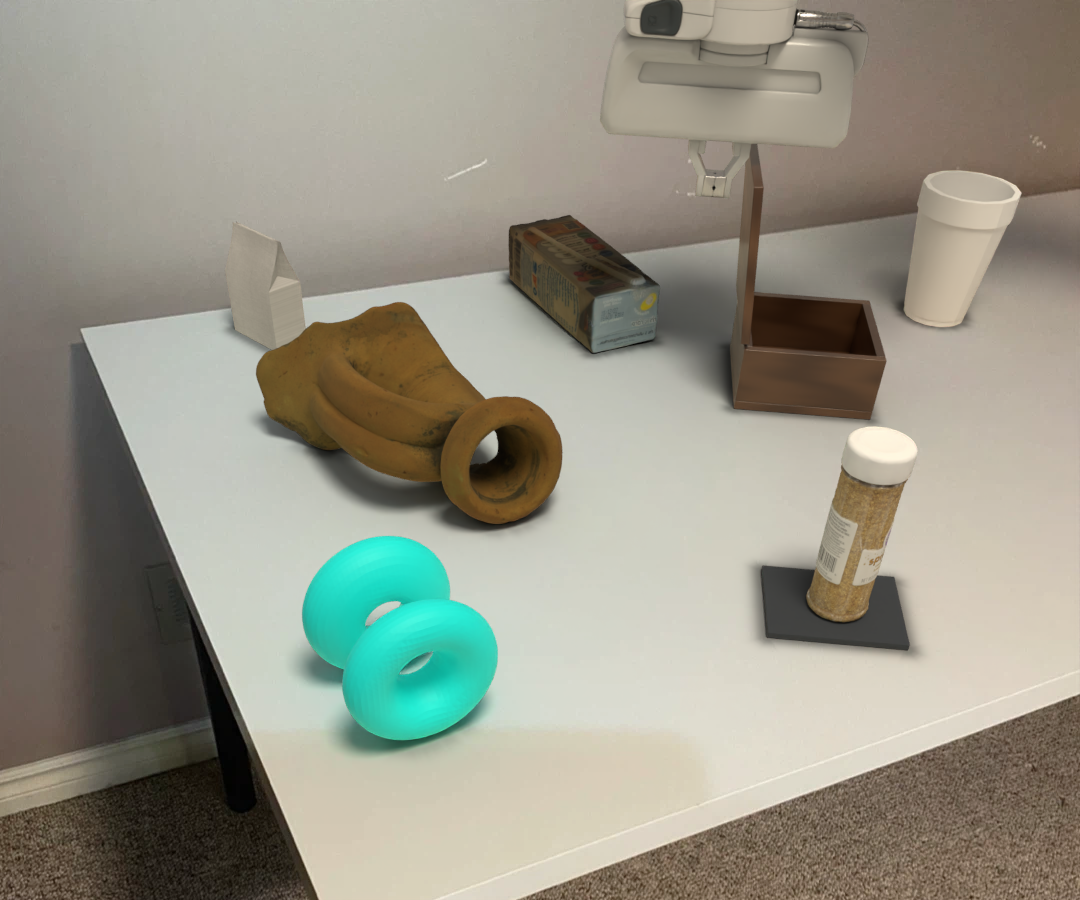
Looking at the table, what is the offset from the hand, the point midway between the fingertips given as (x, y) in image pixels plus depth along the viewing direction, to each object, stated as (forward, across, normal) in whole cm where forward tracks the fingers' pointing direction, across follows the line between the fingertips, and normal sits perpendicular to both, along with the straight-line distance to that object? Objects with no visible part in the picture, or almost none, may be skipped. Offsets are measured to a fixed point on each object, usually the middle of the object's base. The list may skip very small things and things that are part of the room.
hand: (712, 195), depth 92 cm
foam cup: (+17, -27, -18) cm, 36 cm away
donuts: (+17, +19, +48) cm, 54 cm away
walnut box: (+17, -11, 0) cm, 20 cm away
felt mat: (+17, -10, +35) cm, 40 cm away
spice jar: (+16, -11, +35) cm, 40 cm away
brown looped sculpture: (+17, +24, +20) cm, 36 cm away
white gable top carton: (+17, +41, -2) cm, 45 cm away
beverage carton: (+17, +11, -12) cm, 24 cm away
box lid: (+4, -4, 0) cm, 6 cm away
